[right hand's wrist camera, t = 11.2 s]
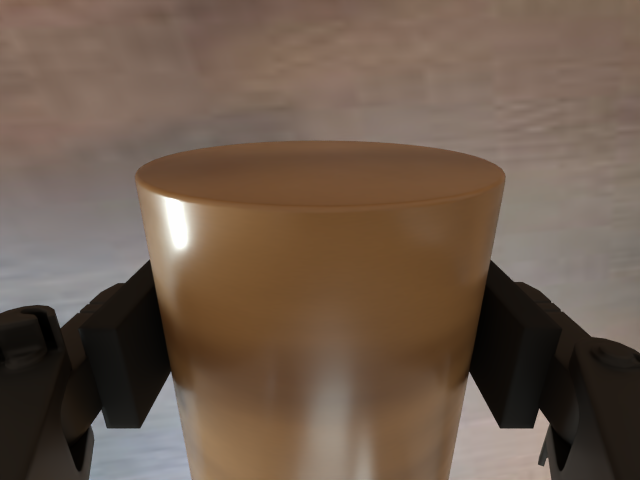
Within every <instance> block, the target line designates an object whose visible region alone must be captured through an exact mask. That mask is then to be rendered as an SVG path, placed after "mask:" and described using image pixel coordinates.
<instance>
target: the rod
mask: <svg viewBox="0 0 640 480" xmlns="http://www.w3.org/2000/svg"><path fill="white" fill-rule="evenodd" d="M505 178H506V176H505V173H504V172H503V170H502V169H501V168H500V167H498V166H497V165H496V164H493V163H491V162H489V161H487V160H485V159H482V158H479V157H476V156H472V155H468V154H464V153H460V152H455V151H450V150H444V149H438V148H430V147H423V146H414V145H404V144H393V143H379V142H358V141H281V142H261V143H246V144H235V145H225V146H216V147H209V148H202V149H196V150H190V151H185V152H180V153H176V154H172V155H168V156H164V157H161V158H158V159H156V160H153V161H151V162H149V163H147V164H145V165H143V166H142V167H140V168H139V169H138V171H137V172H136V175H135V182H136V187H137V192H138V198H139V203H140V208H141V214H142V219H143V224H144V229H145V235H146V240H147V245H148V251H149V256H150V261H151V267H152V272H153V277H154V282H155V288H156V293H157V298H158V304H159V309H160V314H161V319H162V325H163V330H164V335H165V341H166V346H167V351H168V356H169V362H170V367H171V372H172V378H173V383H174V388H175V393H176V399H177V404H178V409H179V415H180V420H181V425H182V430H183V436H184V441H185V446H186V452H187V457H188V462H189V467H190V473H191V478H192V480H448V479H449V474H450V468H451V463H452V458H453V453H454V447H455V442H456V437H457V432H458V427H459V421H460V416H461V411H462V406H463V400H464V395H465V390H466V385H467V379H468V374H469V369H470V364H471V358H472V353H473V348H474V343H475V337H476V332H477V327H478V322H479V316H480V311H481V306H482V301H483V296H484V290H485V285H486V280H487V275H488V269H489V264H490V259H491V254H492V248H493V243H494V238H495V233H496V227H497V222H498V217H499V212H500V206H501V201H502V196H503V191H504V185H505Z"/></svg>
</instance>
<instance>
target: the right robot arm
mask: <svg viewBox="0 0 640 480" xmlns="http://www.w3.org/2000/svg"><path fill="white" fill-rule="evenodd" d="M170 372H171V367H170V362H169V356H168V351H167V346H166V341H165V335H164V330H163V325H162V319H161V314H160V309H159V304H158V298H157V293H156V288H155V282H154V277H153V272H152V267H151V261H150V260H149V261H148V262H147V263H146V264H145V265H144V266H143V267H142V268H140V269H139V270H138V271H137V272H136V273H135V274H134V275H133V276H132V277H131V278H130V279H129V280H128V281H127V282H126V283H118V284H116V285H114V286H112V287H110V288H108V289H106V290H104V291H102V292H101V293H100V294H98V295H97V296H96V297H95V298H94V299H93V300H92V301H91V302H90V304H87V305H86V306H85V307H84V308H83V309H82V310H81V311H80V313H77V314H76V315H75V316H74V317H73V318H72V319H70V320H69V321H68V322H67V323H66V324H65V325H64V326H63V327H62V328H60V326H59V323H58V320H57V316H56V313H55V310H54V309H52V308H51V307H49V306H42V305H33V306H24V307H20V308H16V309H12V310H8V311H5V312H3V313H0V480H89V474H90V467H91V460H92V453H93V446H94V435H93V431H92V428H91V424H92V422H93V421H94V419H95V418H96V416H97V415H98V414H99V412H100V411H101V409H102V413H103V416H104V420H105V423H106V426H107V428H141V426H142V424H143V422H144V420H145V418H146V417H147V415H148V413H149V411H150V409H151V407H152V405H153V404H154V402H155V400H156V398H157V396H158V394H159V393H160V391H161V389H162V387H163V385H164V383H165V381H166V380H167V378H168V376H169V374H170ZM469 372H470V374H471V375H472V377H473V379H474V381H475V383H476V385H477V386H478V388H479V390H480V392H481V394H482V396H483V398H484V399H485V401H486V403H487V405H488V407H489V409H490V411H491V412H492V414H493V416H494V418H495V420H496V422H497V423H498V425H499V427H500V428H533V427H534V424H535V421H536V417H537V414H538V410H539V408H540V410H541V411H542V413H543V414H544V416H545V417H546V418H547V420H548V421H549V423H550V424H549V428H548V431H547V434H546V437H545V440H544V443H543V447H542V450H541V453H540V456H539V462H538V465H541V466H544V464H545V461H546V458H548V459H549V466H550V473H551V480H640V353H639V352H637V351H636V350H634V349H632V348H630V347H627V346H625V345H623V344H621V343H618V342H614V341H611V340H608V339H603V338H595V337H591V336H590V335H589V334H588V333H586V332H585V331H584V330H583V329H582V328H581V327H580V326H579V325H577V324H576V323H575V322H574V321H573V320H572V319H571V318H570V317H568V316H567V315H566V314H565V313H564V312H561V309H559V308H558V307H557V306H556V305H555V304H554V303H551V301H550V300H549V299H548V298H547V297H546V296H545V295H544V294H543V293H541V292H540V291H539V290H537V289H535V288H533V287H531V286H529V285H527V284H525V283H523V282H513V281H512V280H511V279H510V278H509V277H508V276H507V275H506V274H505V273H504V272H503V271H502V270H501V269H500V268H499V267H498V266H497V265H496V264H495V263H494V262H492V261H491V260H490V264H489V269H488V275H487V280H486V285H485V290H484V296H483V301H482V306H481V311H480V316H479V322H478V327H477V332H476V337H475V343H474V348H473V353H472V358H471V364H470V369H469Z"/></svg>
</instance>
